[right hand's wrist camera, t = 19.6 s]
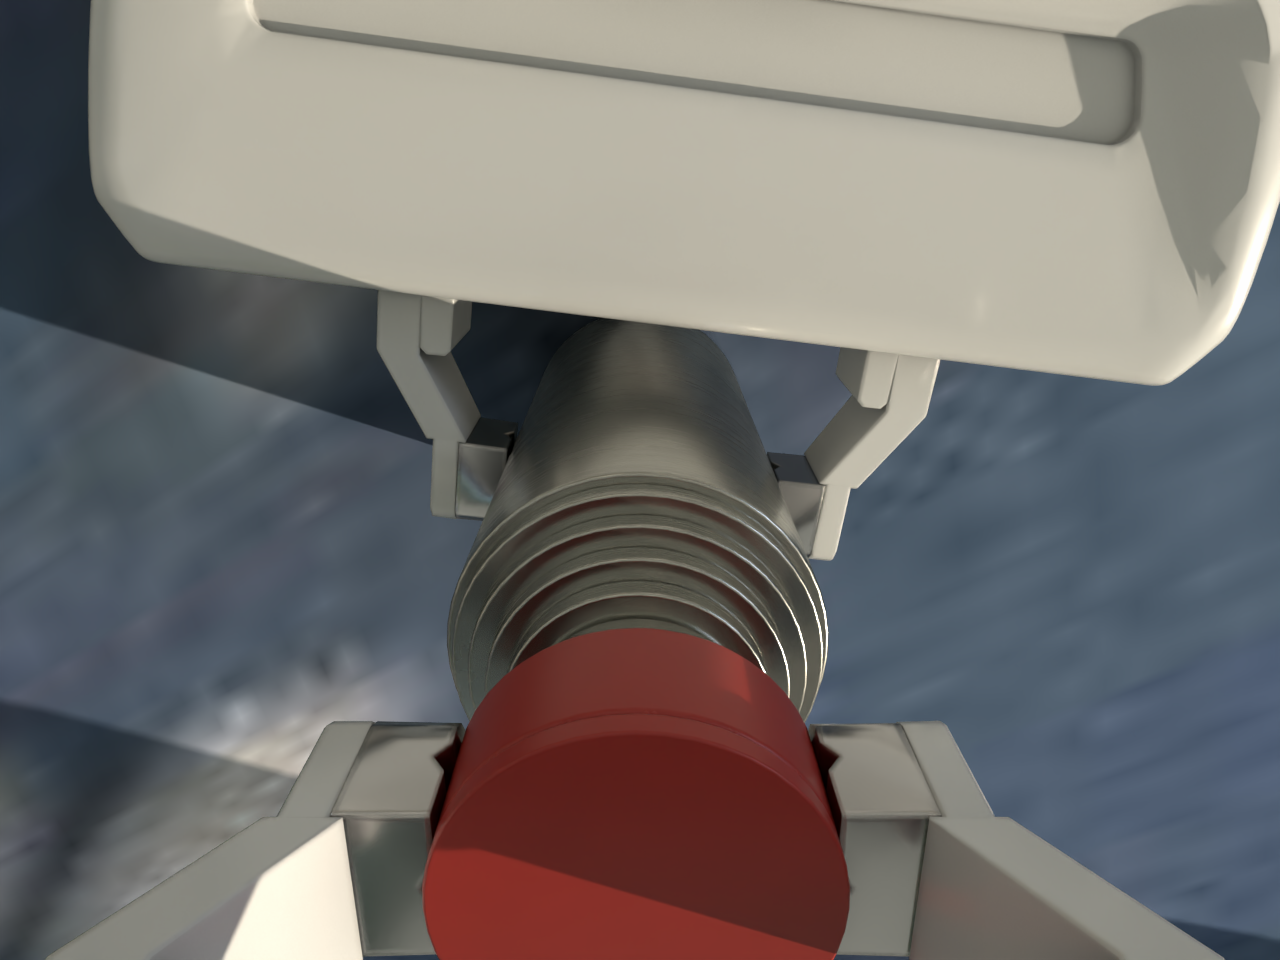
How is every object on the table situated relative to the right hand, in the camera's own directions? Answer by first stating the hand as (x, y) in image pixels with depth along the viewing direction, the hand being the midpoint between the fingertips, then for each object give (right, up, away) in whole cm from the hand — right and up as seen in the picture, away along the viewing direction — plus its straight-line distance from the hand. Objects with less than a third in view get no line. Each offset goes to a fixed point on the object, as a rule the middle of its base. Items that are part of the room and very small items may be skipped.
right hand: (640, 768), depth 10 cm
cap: (0, -1, -2) cm, 2 cm away
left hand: (0, +2, +9) cm, 9 cm away
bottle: (0, +5, +14) cm, 15 cm away
